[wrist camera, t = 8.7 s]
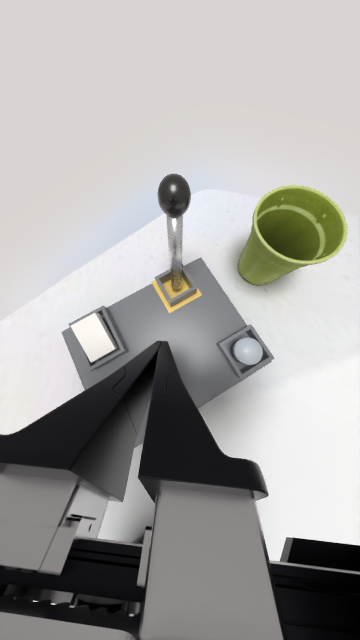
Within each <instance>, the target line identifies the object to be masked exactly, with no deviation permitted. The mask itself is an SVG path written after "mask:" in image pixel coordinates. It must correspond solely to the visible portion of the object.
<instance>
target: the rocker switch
mask: <svg viewBox="0 0 360 640" xmlns="http://www.w3.org/2000/svg"><path fill="white" fill-rule="evenodd" d="M71 328H72V330H73V332H74V333H75V335H76V337H77V339H78V340H79V342H80V344H81V346H82V348H83V349H84V351H85V353H86V355H87V356H88V358H89V360H90V362H93V361H95V360H97V359H99V358H101V357H103V356H104V355H106V354H108V353H110V352H111V351H113V350H115V349H117V348H118V346H117V344H116V342H115V341H114V339H113V337H112V335H111V334H110V332H109V330H108V328H107V327H106V325H105V323H104V321H103V319H102V318H101V316H100V314H99V313H93V314H91V315H90V316H88V317H86V318H84V319H82V320H80V321H78V322H77V323H75V324H73V325H71Z"/></svg>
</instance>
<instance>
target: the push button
mask: <svg viewBox="0 0 360 640" xmlns="http://www.w3.org/2000/svg"><path fill="white" fill-rule="evenodd" d="M232 353H233V356H234V358H235V359H236V360H237V361H239V362H240V363H243V364H247V365H253V364H256V363H258V362H259V361H260V360H261V358H262V355H263V350H262V347H261V345H260V343H259V342H258V341H256V340H255V339H253V338H242V339H238V340H237V341H236V342H235V343H234V344H233V347H232Z"/></svg>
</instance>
